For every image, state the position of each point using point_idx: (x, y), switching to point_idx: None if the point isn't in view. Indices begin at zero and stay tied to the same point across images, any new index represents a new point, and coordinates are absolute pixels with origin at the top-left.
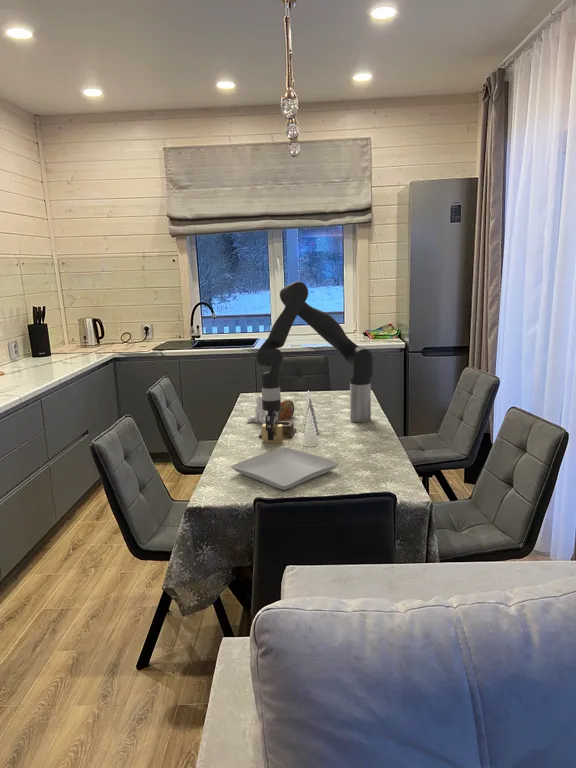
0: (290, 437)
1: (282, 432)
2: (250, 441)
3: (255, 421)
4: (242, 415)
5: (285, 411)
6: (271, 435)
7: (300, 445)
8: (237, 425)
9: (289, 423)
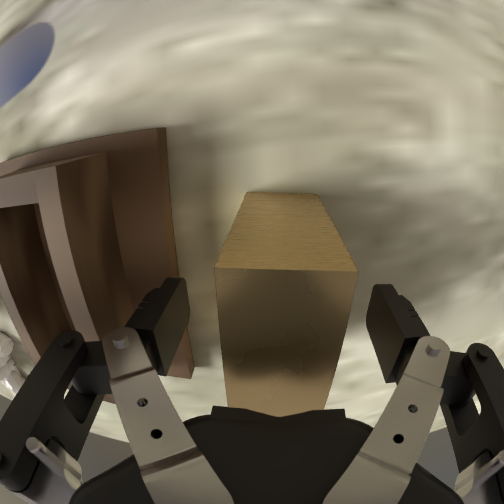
0: (163, 141)
1: (275, 221)
2: None
3: (14, 368)
4: (3, 388)
5: None
6: (419, 319)
7: (374, 28)
8: None
9: (6, 205)
